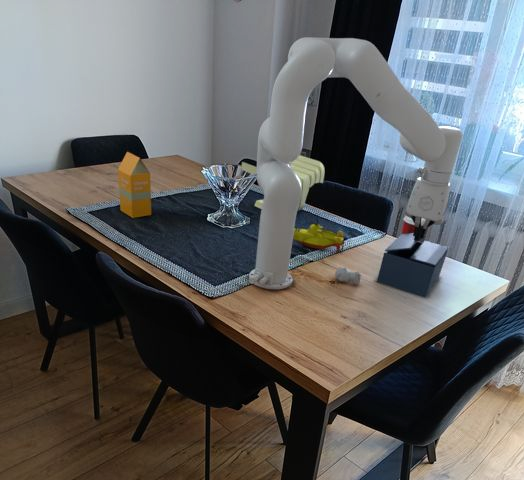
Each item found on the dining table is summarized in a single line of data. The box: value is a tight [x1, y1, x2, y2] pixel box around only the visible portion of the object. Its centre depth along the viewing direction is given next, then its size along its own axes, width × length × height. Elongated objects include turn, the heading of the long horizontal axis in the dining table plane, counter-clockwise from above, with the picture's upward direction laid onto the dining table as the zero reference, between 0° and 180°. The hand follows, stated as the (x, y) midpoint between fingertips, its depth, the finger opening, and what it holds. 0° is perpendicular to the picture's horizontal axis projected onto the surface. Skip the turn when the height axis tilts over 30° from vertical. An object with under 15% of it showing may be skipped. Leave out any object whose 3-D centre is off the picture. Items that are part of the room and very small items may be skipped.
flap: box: [384, 233, 417, 252], centre depth 148 cm, size 17×7×1 cm, turn 150°
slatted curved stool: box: [241, 154, 326, 212], centre depth 192 cm, size 30×16×18 cm, turn 136°
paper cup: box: [400, 215, 426, 242], centre depth 164 cm, size 8×8×14 cm
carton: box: [376, 240, 449, 298], centre depth 150 cm, size 17×15×10 cm
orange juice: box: [117, 151, 152, 219], centre depth 172 cm, size 8×9×20 cm
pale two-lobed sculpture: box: [334, 266, 361, 286], centre depth 146 cm, size 4×8×5 cm
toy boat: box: [293, 218, 346, 253], centre depth 164 cm, size 6×18×10 cm, turn 78°
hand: (417, 239), depth 146 cm, fingers closed
